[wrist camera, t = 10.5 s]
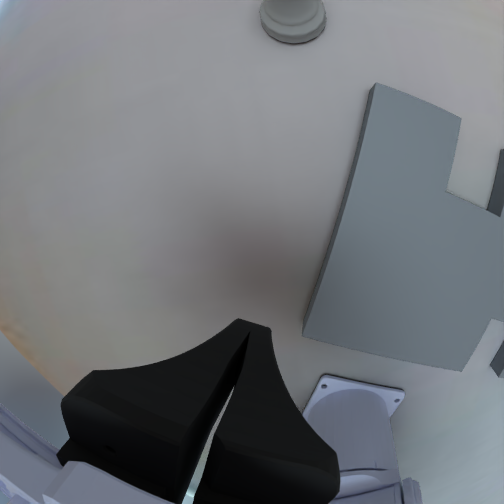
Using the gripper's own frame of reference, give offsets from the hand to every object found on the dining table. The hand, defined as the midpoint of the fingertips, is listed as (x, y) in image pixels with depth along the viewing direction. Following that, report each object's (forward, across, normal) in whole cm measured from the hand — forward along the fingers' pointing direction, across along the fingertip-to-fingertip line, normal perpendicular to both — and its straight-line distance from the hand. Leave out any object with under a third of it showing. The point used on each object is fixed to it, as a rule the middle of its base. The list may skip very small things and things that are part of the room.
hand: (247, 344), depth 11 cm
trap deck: (+10, -16, -4) cm, 20 cm away
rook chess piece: (+11, +3, -17) cm, 20 cm away
